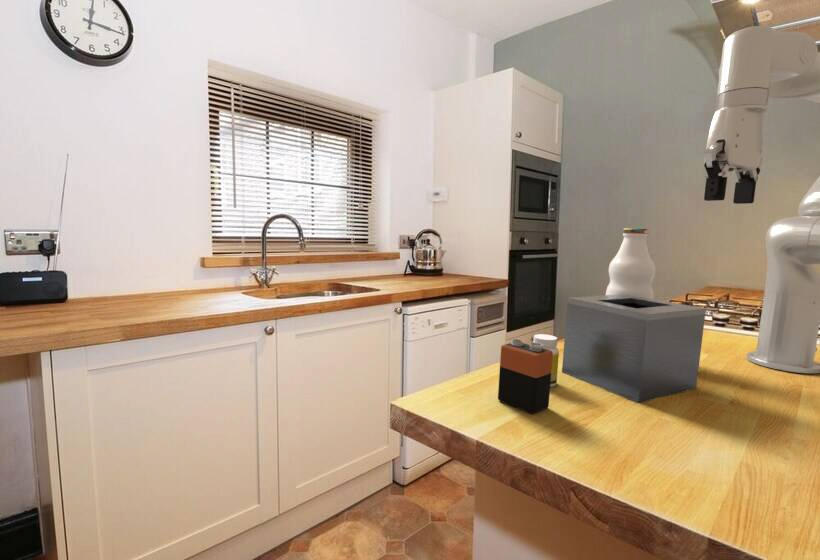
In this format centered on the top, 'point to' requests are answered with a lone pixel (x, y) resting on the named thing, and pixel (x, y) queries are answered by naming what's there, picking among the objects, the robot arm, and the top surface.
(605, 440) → the top surface
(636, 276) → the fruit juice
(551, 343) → the supplement bottle
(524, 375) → the battery
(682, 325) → the grey hollow block
